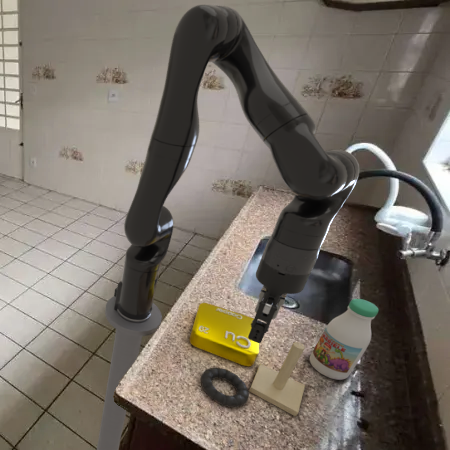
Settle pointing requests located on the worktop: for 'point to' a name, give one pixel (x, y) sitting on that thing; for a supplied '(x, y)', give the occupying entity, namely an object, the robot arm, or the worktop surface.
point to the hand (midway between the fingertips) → (259, 328)
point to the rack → (280, 383)
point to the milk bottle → (344, 340)
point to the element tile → (224, 334)
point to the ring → (220, 397)
